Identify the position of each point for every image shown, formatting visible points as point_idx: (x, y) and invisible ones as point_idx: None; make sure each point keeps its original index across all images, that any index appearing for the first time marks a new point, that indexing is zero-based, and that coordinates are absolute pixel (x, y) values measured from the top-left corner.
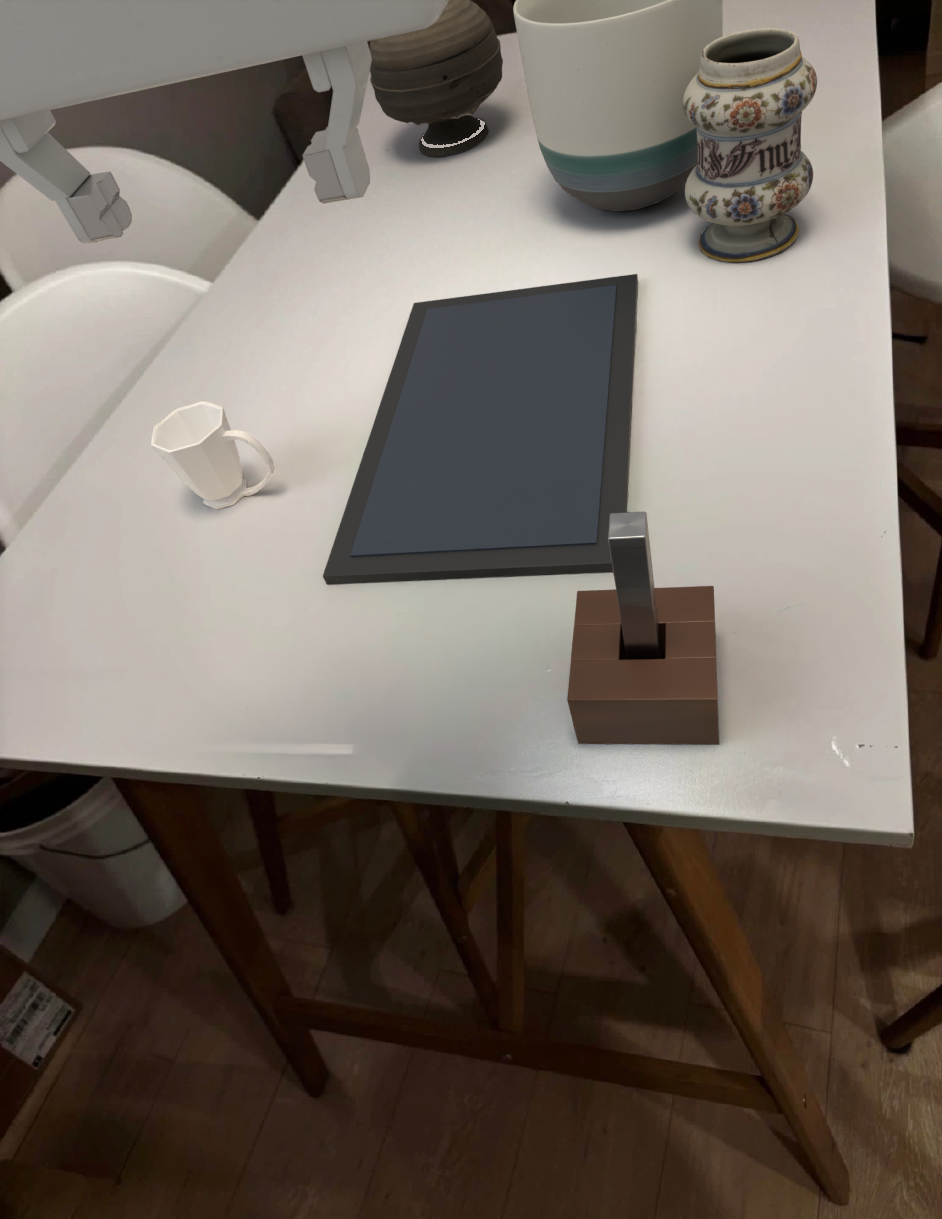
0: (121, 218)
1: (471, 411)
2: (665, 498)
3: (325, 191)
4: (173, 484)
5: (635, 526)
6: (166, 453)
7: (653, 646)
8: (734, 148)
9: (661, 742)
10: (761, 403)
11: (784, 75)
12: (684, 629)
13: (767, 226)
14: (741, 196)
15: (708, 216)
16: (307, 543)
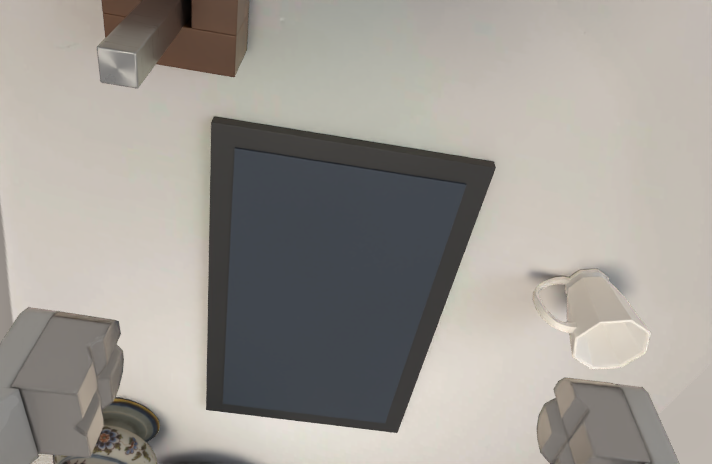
0: (553, 418)
1: (347, 312)
2: (179, 186)
3: (84, 328)
4: (637, 306)
5: (108, 63)
6: (635, 320)
7: None
8: None
9: None
10: (102, 262)
11: None
12: (130, 9)
13: None
14: (104, 447)
15: (137, 440)
16: (510, 211)
